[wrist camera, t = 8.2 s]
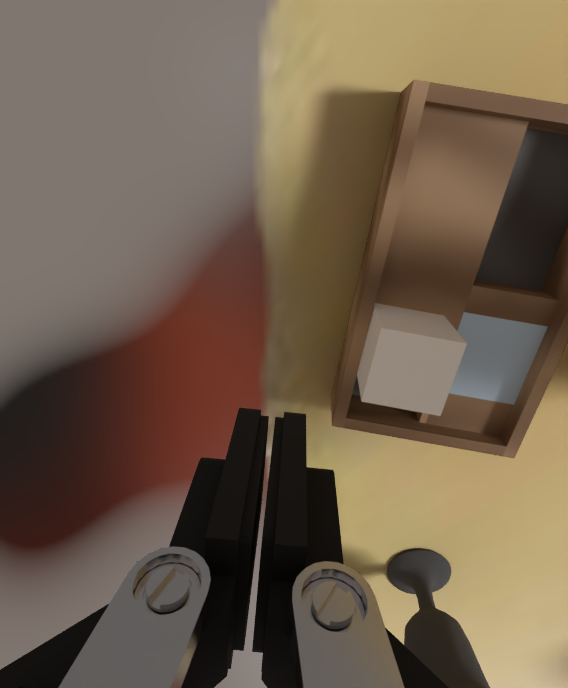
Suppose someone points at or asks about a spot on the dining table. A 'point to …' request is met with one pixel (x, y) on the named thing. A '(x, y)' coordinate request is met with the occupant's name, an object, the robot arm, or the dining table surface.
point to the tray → (466, 249)
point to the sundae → (435, 621)
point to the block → (409, 359)
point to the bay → (495, 357)
